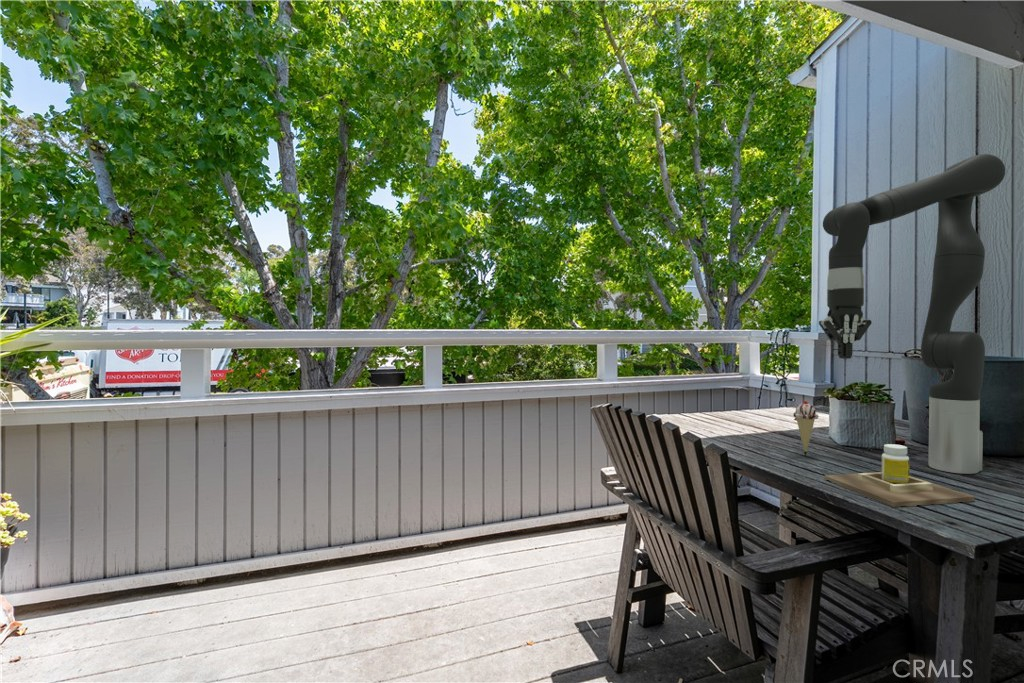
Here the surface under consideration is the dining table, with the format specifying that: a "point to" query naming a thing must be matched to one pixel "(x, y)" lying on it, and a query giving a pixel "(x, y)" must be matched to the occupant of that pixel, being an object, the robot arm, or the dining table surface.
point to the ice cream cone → (805, 422)
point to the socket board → (899, 490)
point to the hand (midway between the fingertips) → (844, 358)
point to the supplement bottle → (895, 464)
